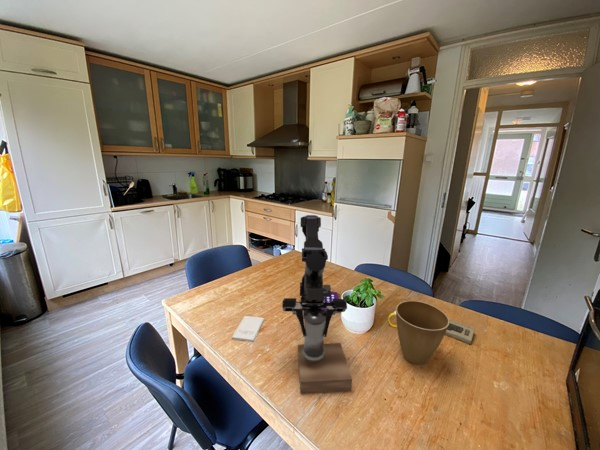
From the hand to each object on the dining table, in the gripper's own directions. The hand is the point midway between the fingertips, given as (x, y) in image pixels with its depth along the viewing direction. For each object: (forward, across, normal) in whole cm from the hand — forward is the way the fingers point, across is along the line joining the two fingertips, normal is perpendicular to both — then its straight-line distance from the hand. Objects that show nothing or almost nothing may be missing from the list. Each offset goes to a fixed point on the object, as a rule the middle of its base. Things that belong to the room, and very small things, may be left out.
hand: (314, 336), depth 71 cm
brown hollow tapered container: (+4, +33, +15) cm, 37 cm away
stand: (+9, +3, +10) cm, 14 cm away
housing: (+4, 0, +6) cm, 7 cm away
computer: (-5, +52, +25) cm, 58 cm away
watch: (-6, +33, +26) cm, 42 cm away
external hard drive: (-4, -23, +24) cm, 34 cm away
